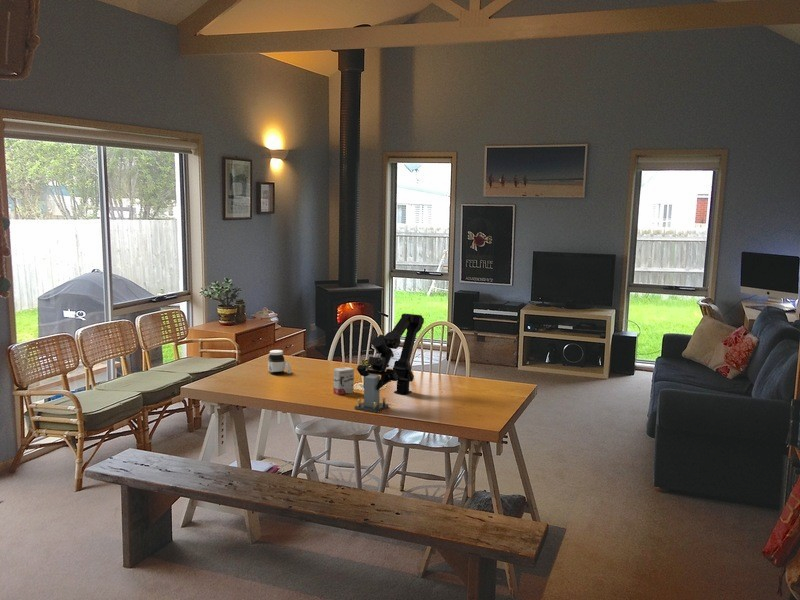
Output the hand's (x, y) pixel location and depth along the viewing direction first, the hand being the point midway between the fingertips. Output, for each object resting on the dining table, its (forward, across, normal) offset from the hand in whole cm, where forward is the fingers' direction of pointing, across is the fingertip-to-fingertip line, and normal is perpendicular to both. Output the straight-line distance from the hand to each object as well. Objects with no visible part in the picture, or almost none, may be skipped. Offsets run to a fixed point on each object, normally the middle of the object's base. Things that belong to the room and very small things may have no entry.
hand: (370, 388), depth 305 cm
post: (+5, 0, +6) cm, 8 cm away
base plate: (+5, 0, +7) cm, 9 cm away
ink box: (-5, -24, +18) cm, 30 cm away
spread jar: (-15, -72, +28) cm, 79 cm away
